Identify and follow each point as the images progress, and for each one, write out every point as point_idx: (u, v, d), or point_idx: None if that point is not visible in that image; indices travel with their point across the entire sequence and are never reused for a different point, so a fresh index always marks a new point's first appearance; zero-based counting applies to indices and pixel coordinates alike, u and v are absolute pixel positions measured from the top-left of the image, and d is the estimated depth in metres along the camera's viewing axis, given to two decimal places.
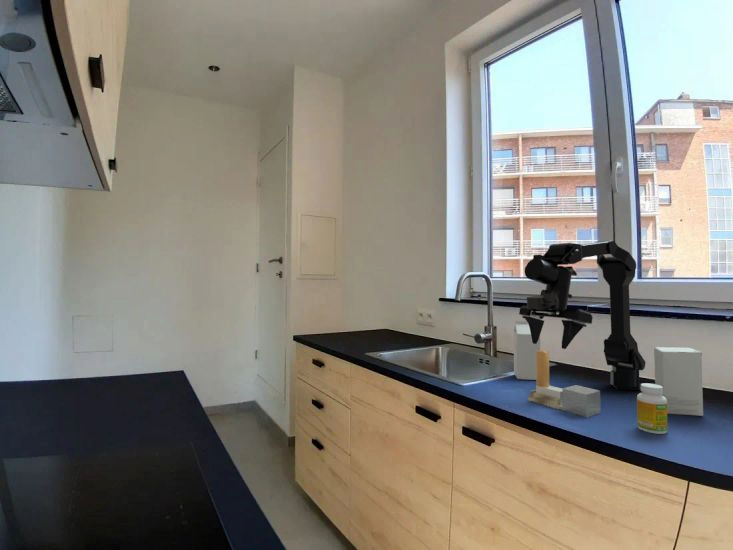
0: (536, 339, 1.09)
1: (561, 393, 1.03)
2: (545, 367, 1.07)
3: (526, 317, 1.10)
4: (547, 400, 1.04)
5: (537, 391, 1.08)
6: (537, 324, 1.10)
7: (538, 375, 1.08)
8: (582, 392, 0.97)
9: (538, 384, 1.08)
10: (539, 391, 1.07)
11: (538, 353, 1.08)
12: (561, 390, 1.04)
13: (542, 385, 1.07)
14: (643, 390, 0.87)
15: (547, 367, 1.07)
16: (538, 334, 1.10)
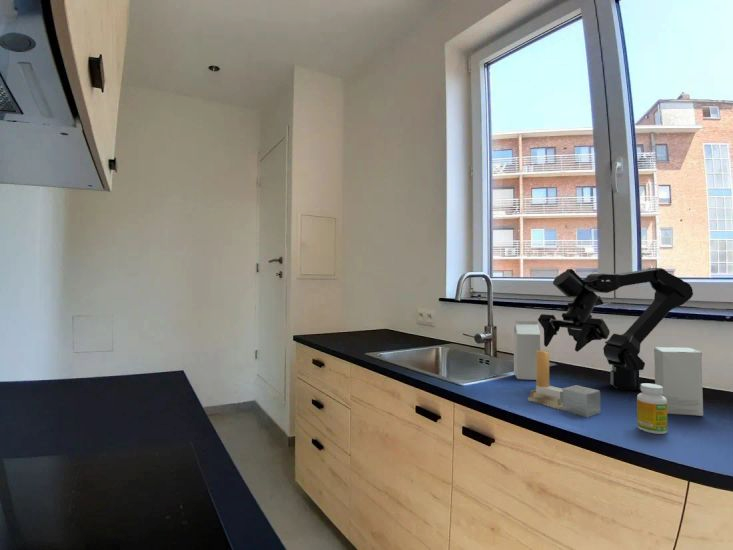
0: None
1: (561, 393, 1.03)
2: (545, 367, 1.07)
3: None
4: (547, 400, 1.04)
5: (537, 391, 1.08)
6: None
7: (538, 375, 1.08)
8: (582, 392, 0.97)
9: (538, 384, 1.08)
10: (539, 391, 1.07)
11: (538, 353, 1.08)
12: (561, 390, 1.04)
13: (542, 385, 1.07)
14: (643, 390, 0.87)
15: (547, 367, 1.07)
16: None
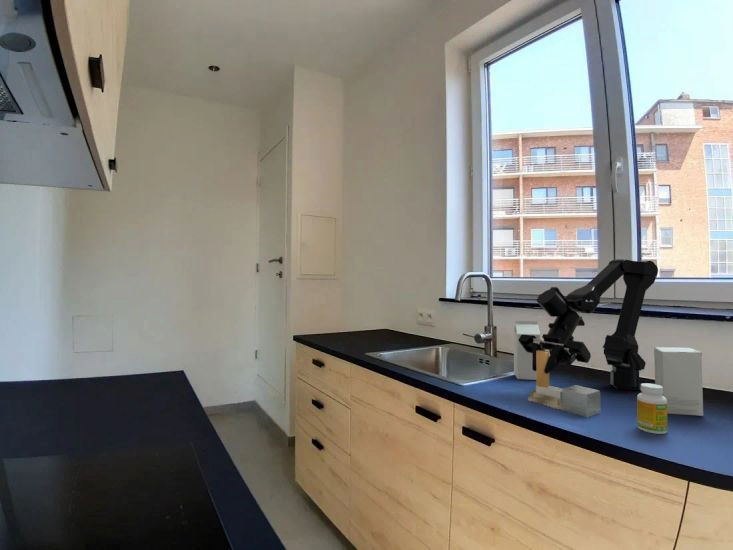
0: None
1: (561, 393, 1.03)
2: None
3: None
4: (547, 400, 1.04)
5: (537, 391, 1.08)
6: None
7: (538, 375, 1.08)
8: (582, 392, 0.97)
9: (538, 384, 1.08)
10: (539, 391, 1.07)
11: (538, 353, 1.08)
12: (561, 390, 1.04)
13: (542, 385, 1.07)
14: (643, 390, 0.87)
15: None
16: None
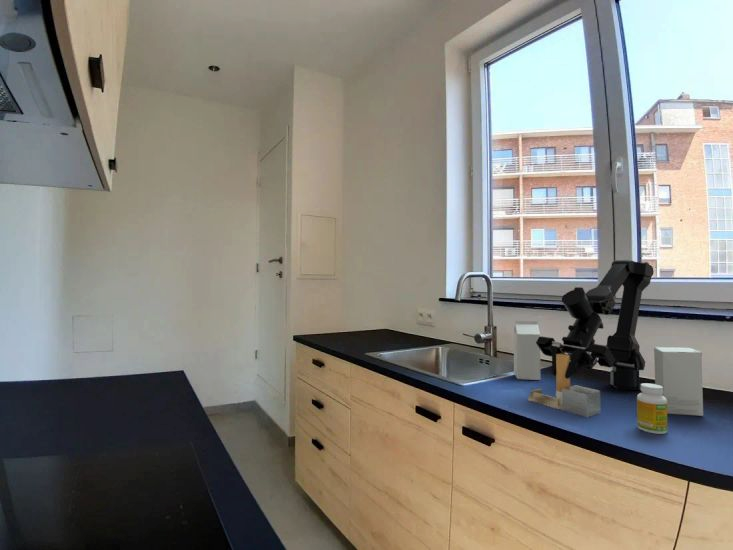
0: None
1: None
2: None
3: None
4: (547, 400, 1.04)
5: (557, 396, 1.03)
6: None
7: (558, 380, 1.03)
8: (582, 392, 0.97)
9: (558, 389, 1.03)
10: (559, 396, 1.02)
11: (558, 357, 1.03)
12: None
13: None
14: (643, 390, 0.87)
15: None
16: None
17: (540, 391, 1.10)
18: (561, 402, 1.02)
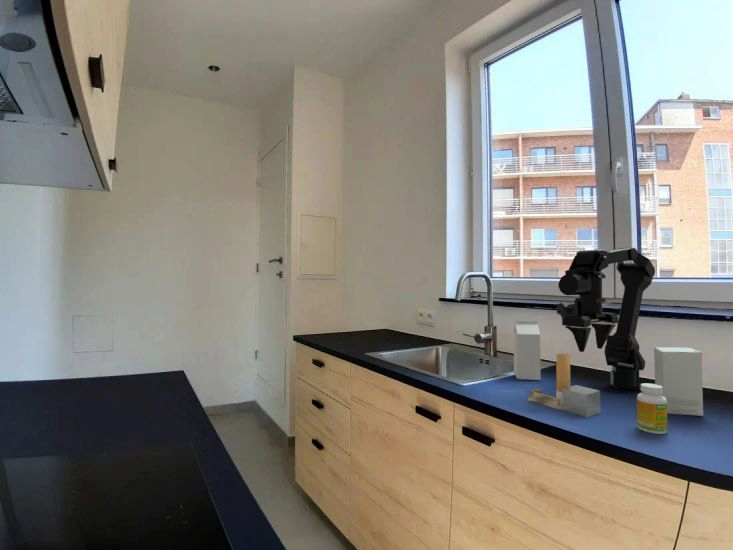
0: (600, 344, 1.14)
1: None
2: (566, 372, 1.02)
3: None
4: (547, 400, 1.04)
5: (557, 396, 1.03)
6: (601, 329, 1.14)
7: (559, 380, 1.03)
8: (582, 392, 0.97)
9: (559, 389, 1.03)
10: (560, 397, 1.02)
11: (559, 357, 1.03)
12: None
13: None
14: (643, 390, 0.87)
15: (568, 371, 1.02)
16: (602, 339, 1.14)
17: (540, 391, 1.10)
18: (561, 402, 1.02)
